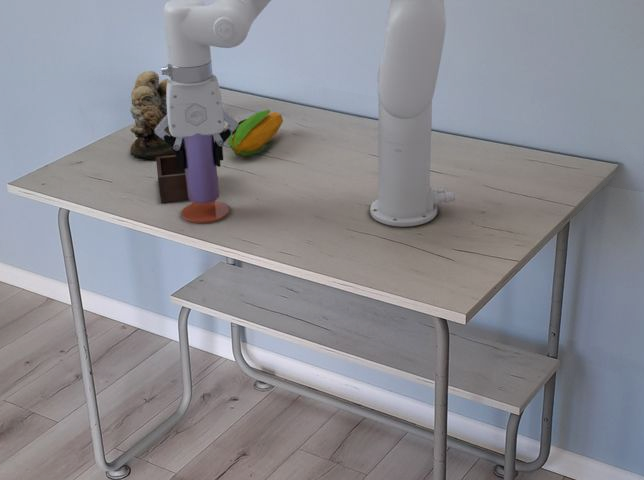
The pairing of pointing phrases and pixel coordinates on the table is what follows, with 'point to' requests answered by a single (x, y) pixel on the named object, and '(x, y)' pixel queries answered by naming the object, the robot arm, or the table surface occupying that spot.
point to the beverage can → (200, 169)
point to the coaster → (205, 212)
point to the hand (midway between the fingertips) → (200, 164)
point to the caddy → (171, 179)
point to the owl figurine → (149, 116)
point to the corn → (255, 133)
